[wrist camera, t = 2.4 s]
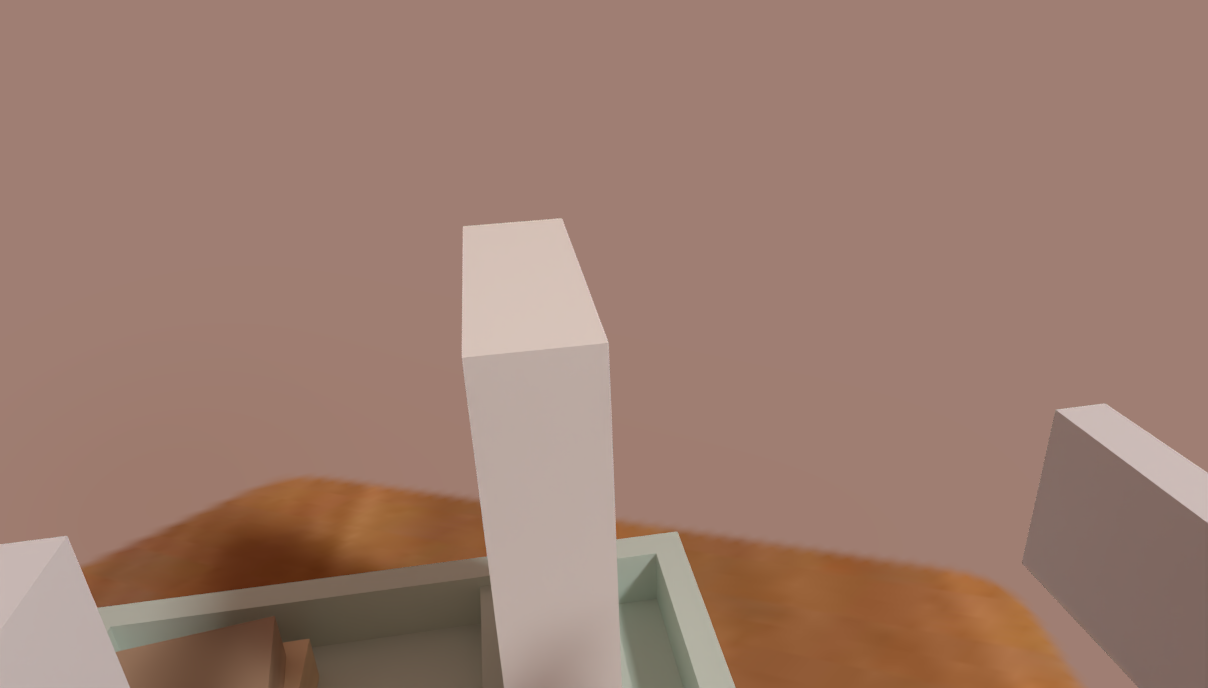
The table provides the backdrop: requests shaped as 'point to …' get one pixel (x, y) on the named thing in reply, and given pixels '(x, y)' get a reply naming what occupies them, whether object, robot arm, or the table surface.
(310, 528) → the table surface
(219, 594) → the tray
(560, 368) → the white rectangular block
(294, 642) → the offcut lower
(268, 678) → the offcut upper
